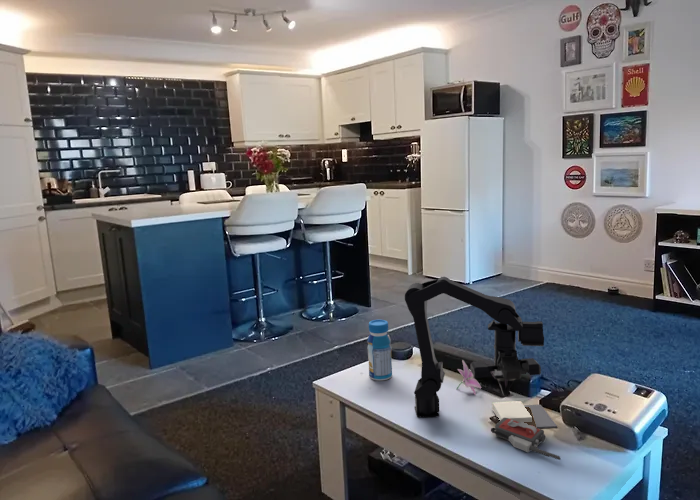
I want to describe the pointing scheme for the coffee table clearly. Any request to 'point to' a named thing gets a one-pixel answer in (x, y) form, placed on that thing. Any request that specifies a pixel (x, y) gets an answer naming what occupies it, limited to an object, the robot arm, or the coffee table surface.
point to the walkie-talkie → (521, 435)
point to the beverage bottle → (379, 351)
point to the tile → (511, 411)
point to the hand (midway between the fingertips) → (505, 395)
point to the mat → (541, 417)
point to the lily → (468, 378)
